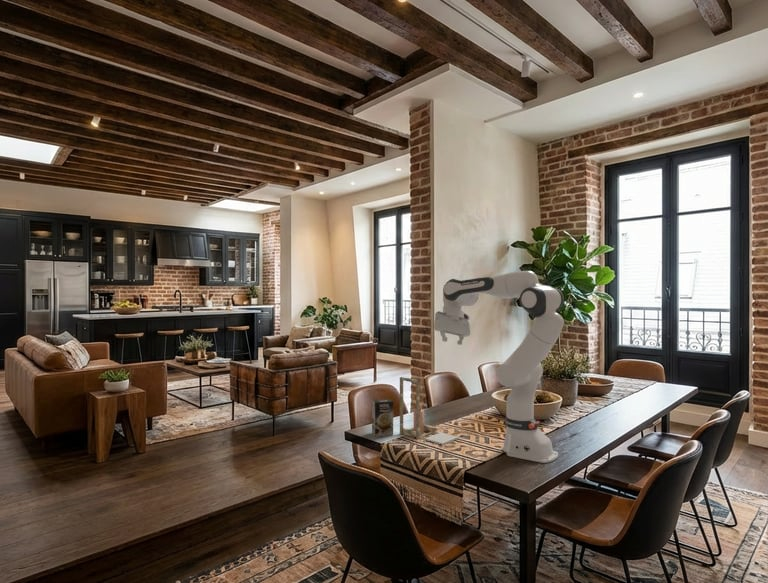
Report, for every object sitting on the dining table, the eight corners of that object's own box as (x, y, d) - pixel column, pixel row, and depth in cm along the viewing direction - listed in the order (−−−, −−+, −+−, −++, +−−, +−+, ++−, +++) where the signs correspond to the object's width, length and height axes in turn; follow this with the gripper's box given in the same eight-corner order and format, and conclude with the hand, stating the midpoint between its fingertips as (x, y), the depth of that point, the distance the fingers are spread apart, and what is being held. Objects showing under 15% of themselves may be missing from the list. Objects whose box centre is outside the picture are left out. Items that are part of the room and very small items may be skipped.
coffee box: (375, 437, 216) (375, 402, 216) (371, 432, 222) (371, 399, 222) (393, 435, 218) (393, 401, 218) (390, 431, 224) (389, 398, 224)
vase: (426, 433, 222) (426, 403, 222) (419, 435, 218) (419, 405, 218) (418, 430, 225) (418, 402, 225) (411, 433, 222) (411, 404, 221)
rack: (436, 432, 222) (436, 376, 222) (418, 439, 212) (418, 380, 212) (418, 427, 230) (418, 373, 230) (399, 434, 220) (399, 377, 220)
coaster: (458, 438, 213) (458, 437, 213) (442, 445, 204) (442, 443, 204) (440, 434, 220) (440, 432, 220) (424, 440, 211) (424, 438, 211)
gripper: (440, 309, 215) (439, 338, 210) (472, 317, 226) (472, 345, 221) (431, 311, 220) (431, 340, 215) (463, 319, 231) (463, 347, 226)
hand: (452, 342), depth 218 cm, fingers open, 8 cm apart
